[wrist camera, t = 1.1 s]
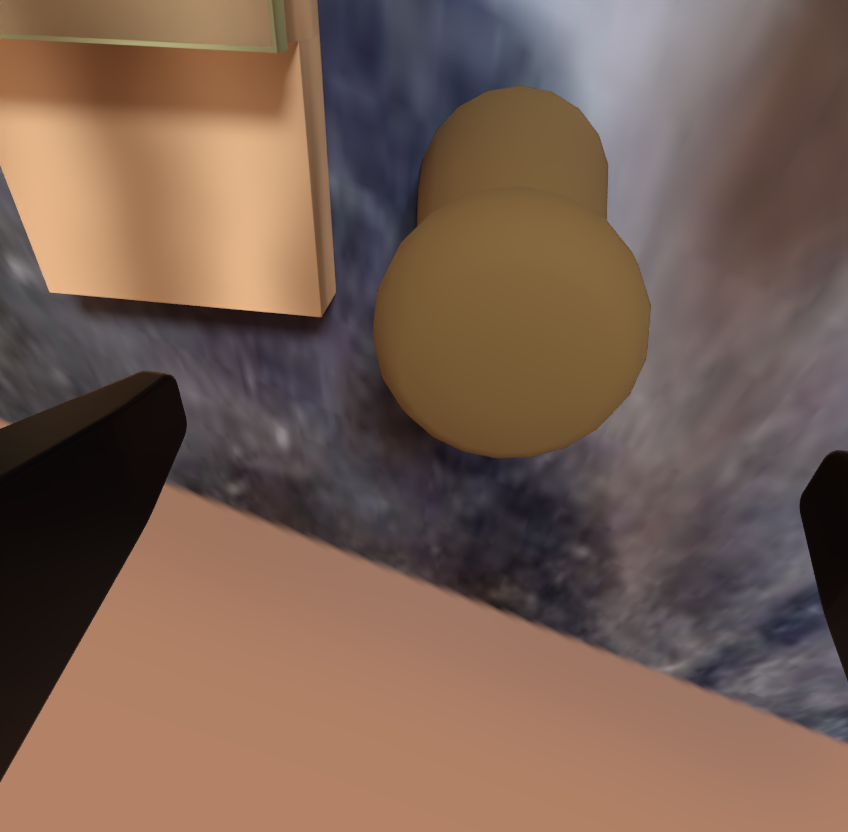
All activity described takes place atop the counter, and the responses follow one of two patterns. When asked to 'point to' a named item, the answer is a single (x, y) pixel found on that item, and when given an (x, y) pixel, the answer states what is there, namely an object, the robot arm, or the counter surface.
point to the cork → (512, 284)
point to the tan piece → (170, 149)
